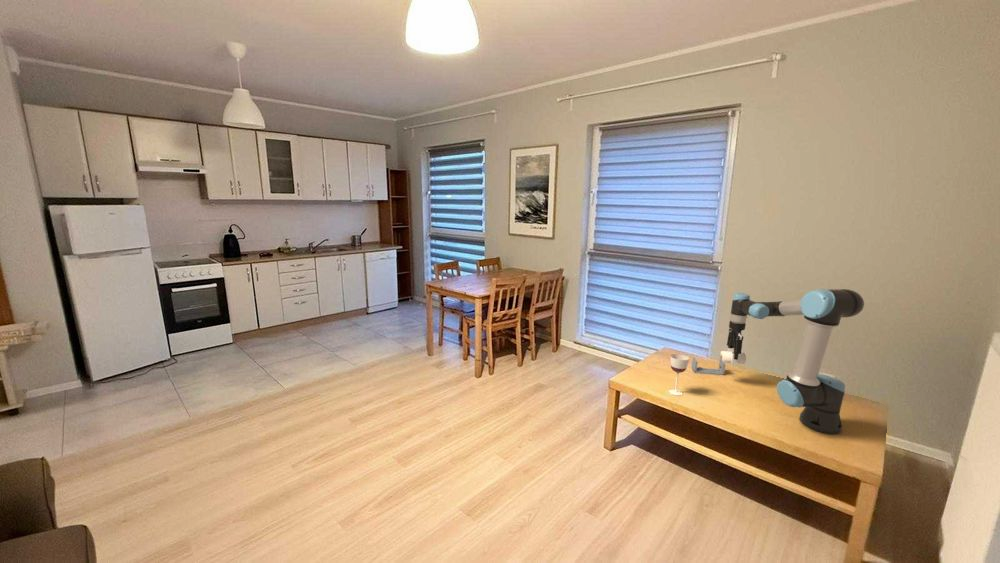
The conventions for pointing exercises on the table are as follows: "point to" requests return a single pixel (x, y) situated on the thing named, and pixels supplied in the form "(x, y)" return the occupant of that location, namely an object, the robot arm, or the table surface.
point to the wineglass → (678, 368)
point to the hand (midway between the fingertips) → (731, 361)
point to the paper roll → (727, 357)
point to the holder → (708, 371)
